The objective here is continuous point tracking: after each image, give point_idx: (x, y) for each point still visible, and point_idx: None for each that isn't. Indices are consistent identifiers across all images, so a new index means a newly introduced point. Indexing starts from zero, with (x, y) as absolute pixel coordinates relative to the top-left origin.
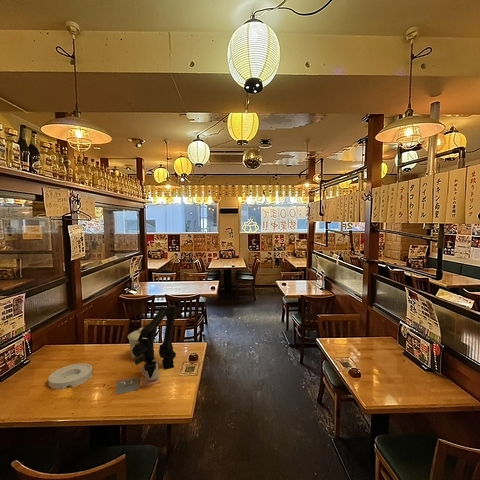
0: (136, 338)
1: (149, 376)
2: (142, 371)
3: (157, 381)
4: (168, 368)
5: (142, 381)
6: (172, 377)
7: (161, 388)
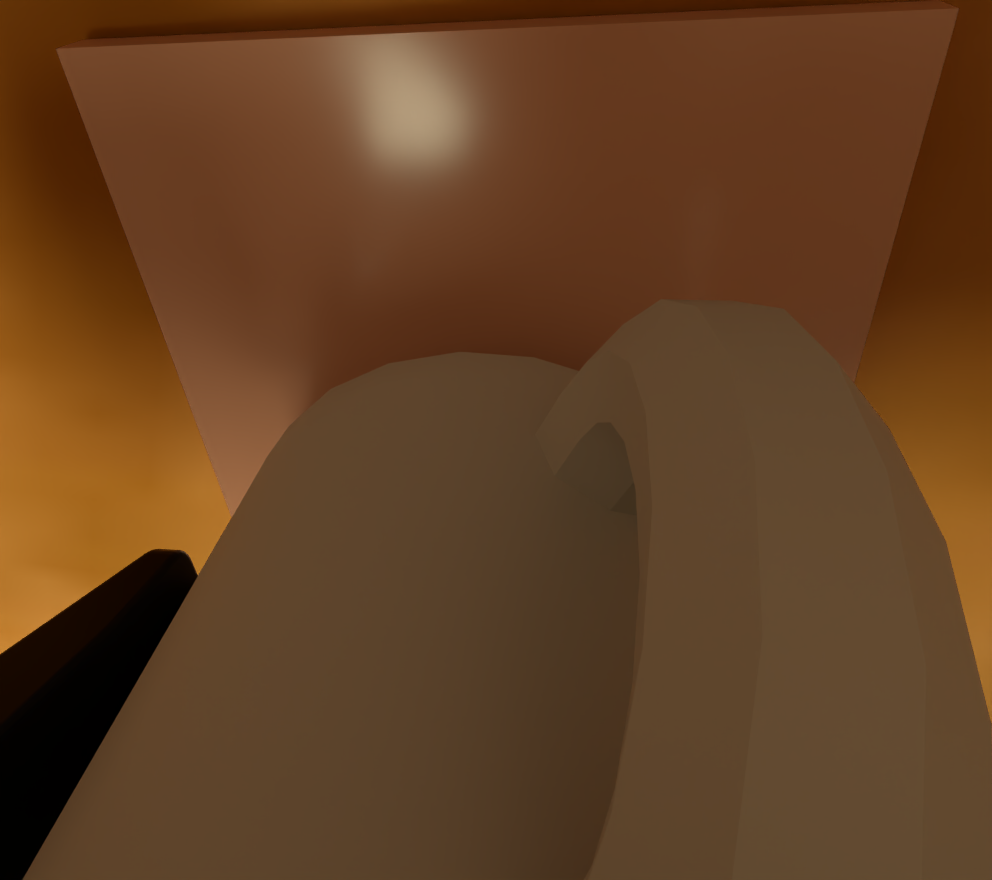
0: None
1: (79, 617)
2: (646, 425)
3: None
4: None
5: (480, 148)
6: None
7: (33, 591)
